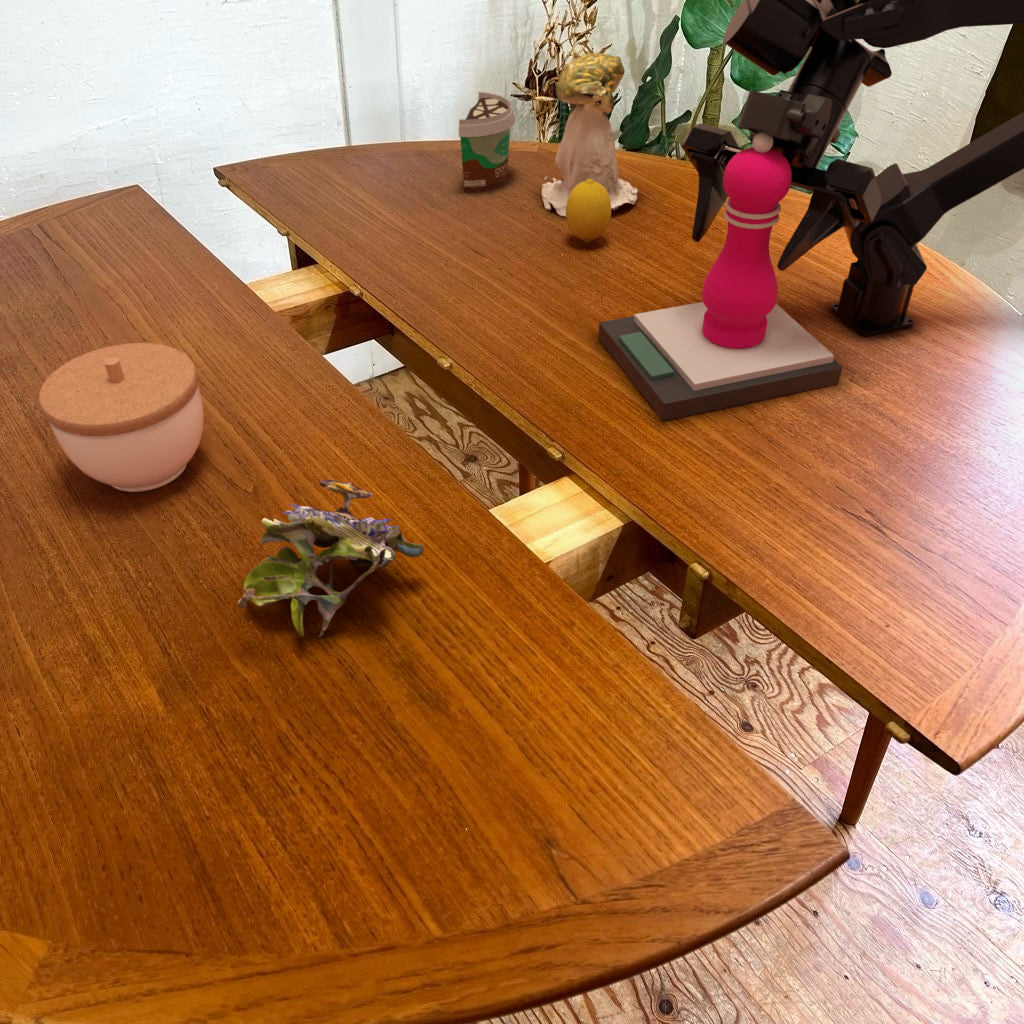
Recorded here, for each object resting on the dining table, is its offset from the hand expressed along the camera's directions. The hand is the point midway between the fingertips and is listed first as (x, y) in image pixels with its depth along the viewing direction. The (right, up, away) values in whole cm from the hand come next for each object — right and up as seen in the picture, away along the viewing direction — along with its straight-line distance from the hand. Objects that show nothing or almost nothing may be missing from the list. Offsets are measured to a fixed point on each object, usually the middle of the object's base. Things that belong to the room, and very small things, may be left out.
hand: (736, 254), depth 90 cm
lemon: (-12, +9, +30) cm, 33 cm away
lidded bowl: (-54, -20, -4) cm, 58 cm away
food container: (-24, +22, +45) cm, 55 cm away
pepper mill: (+1, -6, +7) cm, 9 cm away
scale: (0, -9, +8) cm, 12 cm away
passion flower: (-35, -31, -17) cm, 49 cm away
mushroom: (-11, +18, +39) cm, 44 cm away
